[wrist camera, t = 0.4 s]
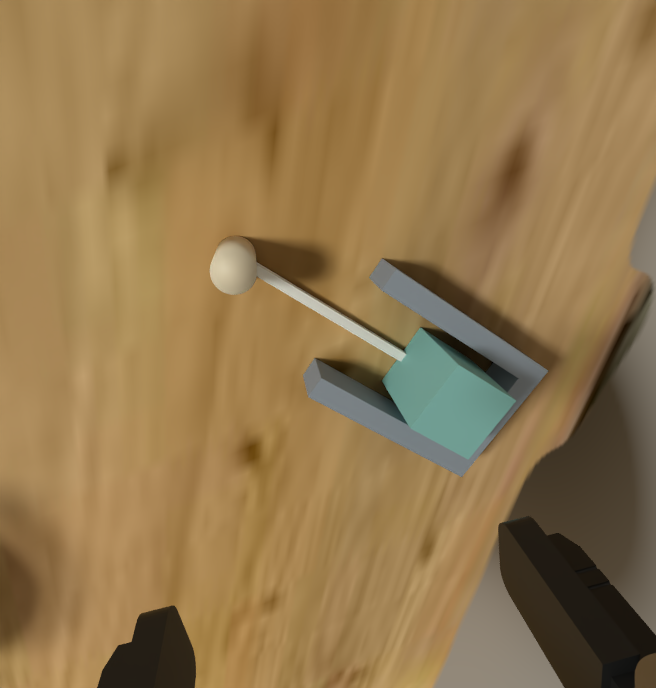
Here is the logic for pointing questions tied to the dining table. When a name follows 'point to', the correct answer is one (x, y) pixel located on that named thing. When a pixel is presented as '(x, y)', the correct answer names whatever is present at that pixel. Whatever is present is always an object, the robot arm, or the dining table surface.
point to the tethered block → (407, 372)
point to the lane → (382, 413)
